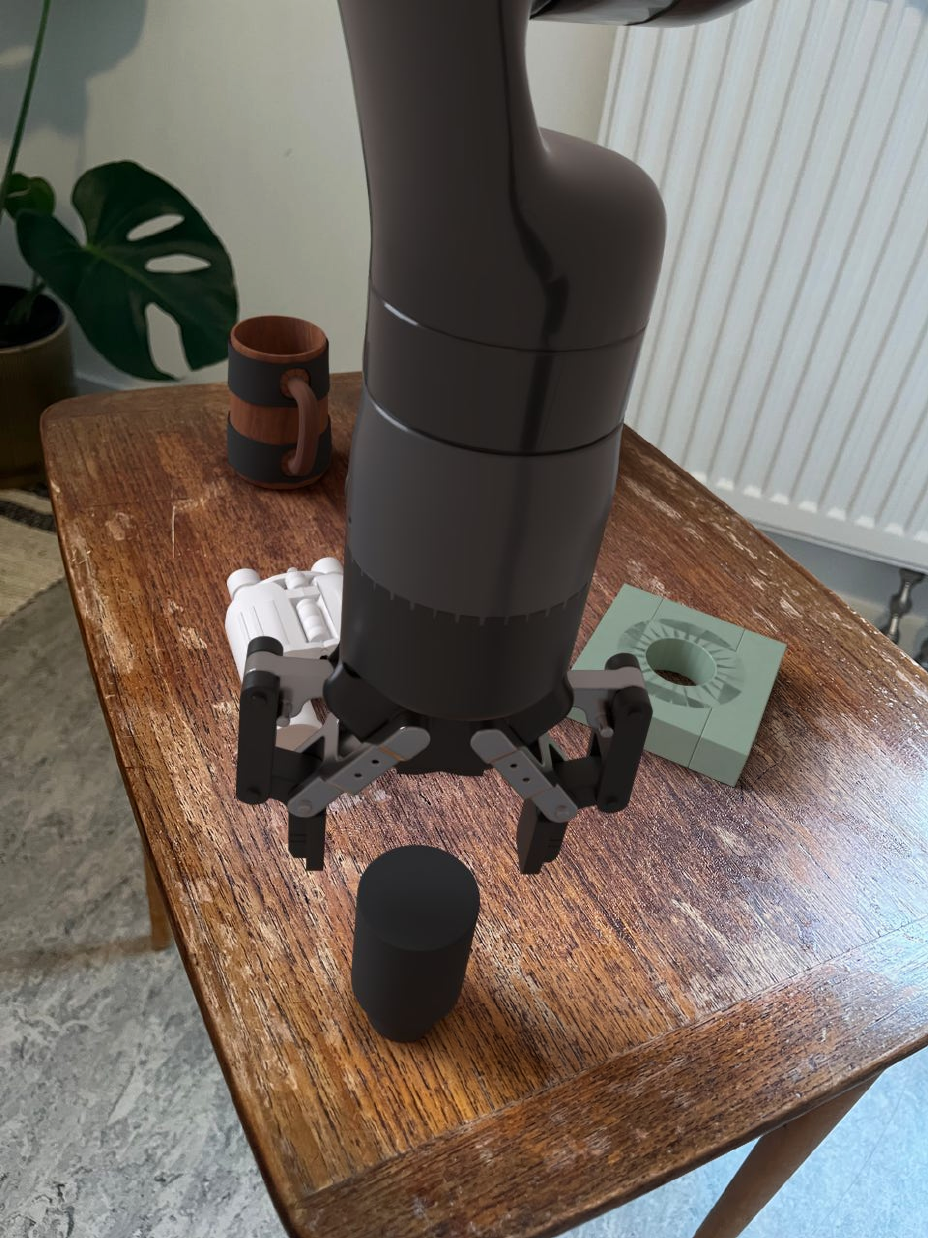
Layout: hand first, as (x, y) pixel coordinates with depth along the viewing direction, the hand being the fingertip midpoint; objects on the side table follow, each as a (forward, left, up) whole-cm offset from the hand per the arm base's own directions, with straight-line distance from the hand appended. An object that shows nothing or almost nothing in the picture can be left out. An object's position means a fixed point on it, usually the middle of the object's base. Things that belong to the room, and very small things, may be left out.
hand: (423, 854), depth 39 cm
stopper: (0, 0, -12) cm, 12 cm away
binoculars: (+16, -17, -12) cm, 26 cm away
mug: (+31, -36, -12) cm, 49 cm away
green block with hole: (-5, -28, -12) cm, 31 cm away
